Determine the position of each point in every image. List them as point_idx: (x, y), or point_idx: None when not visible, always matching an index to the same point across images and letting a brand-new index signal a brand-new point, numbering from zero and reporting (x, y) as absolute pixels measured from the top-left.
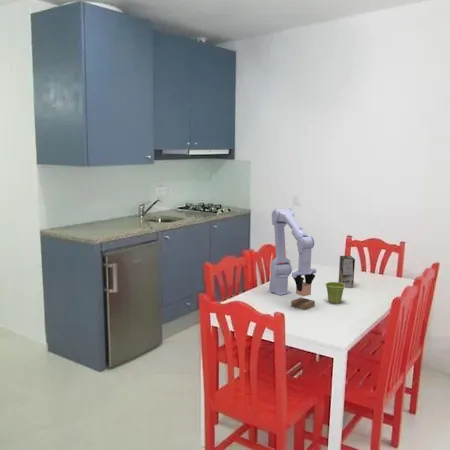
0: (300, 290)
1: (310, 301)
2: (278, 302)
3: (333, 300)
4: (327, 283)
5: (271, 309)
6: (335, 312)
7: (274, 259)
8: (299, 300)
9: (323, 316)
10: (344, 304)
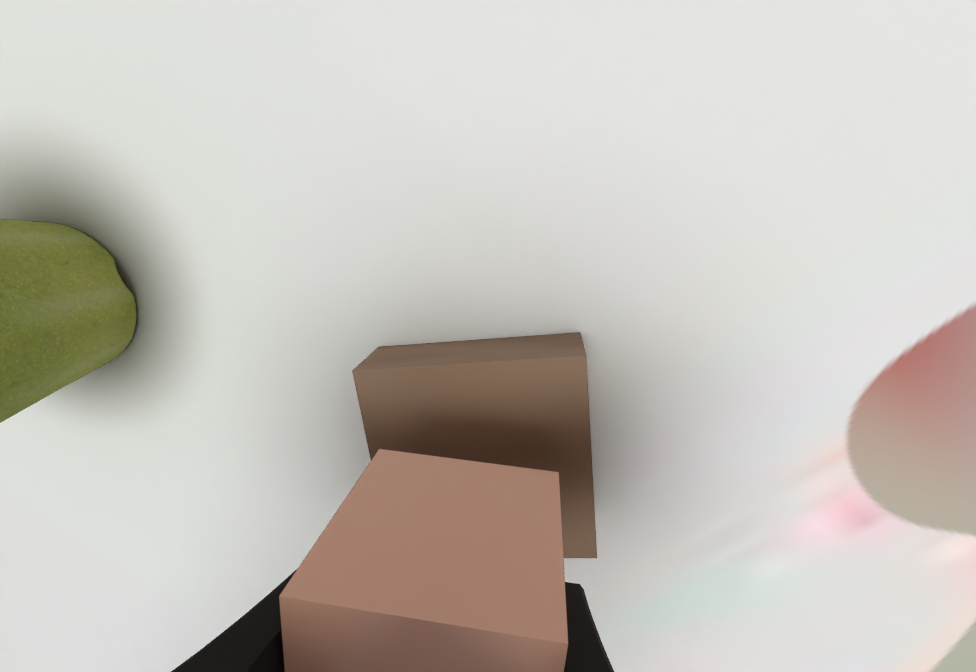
0: (584, 599)
1: (415, 395)
2: None
3: (91, 270)
4: None
5: (848, 584)
6: (330, 15)
7: None
8: None
9: (595, 9)
10: (28, 153)
